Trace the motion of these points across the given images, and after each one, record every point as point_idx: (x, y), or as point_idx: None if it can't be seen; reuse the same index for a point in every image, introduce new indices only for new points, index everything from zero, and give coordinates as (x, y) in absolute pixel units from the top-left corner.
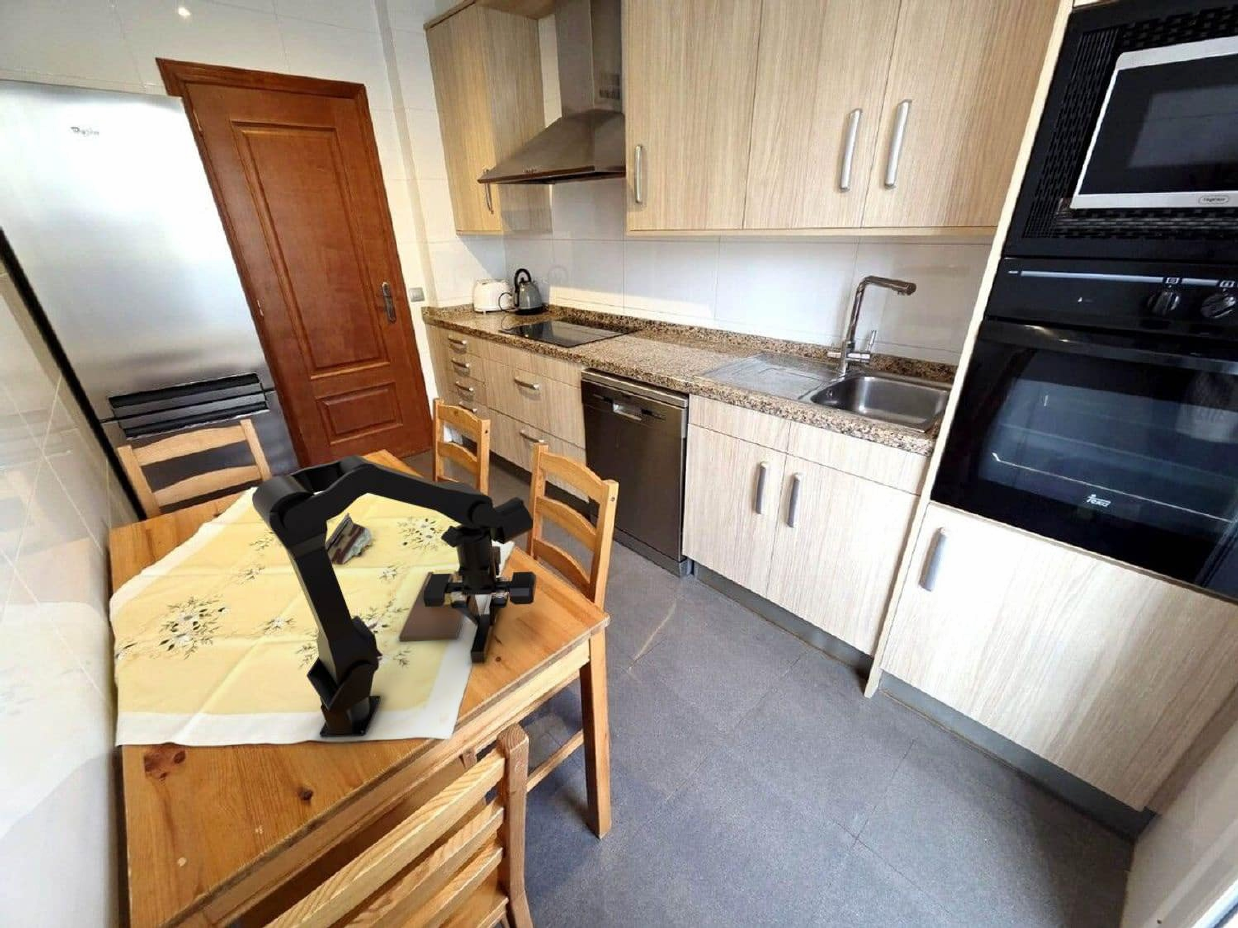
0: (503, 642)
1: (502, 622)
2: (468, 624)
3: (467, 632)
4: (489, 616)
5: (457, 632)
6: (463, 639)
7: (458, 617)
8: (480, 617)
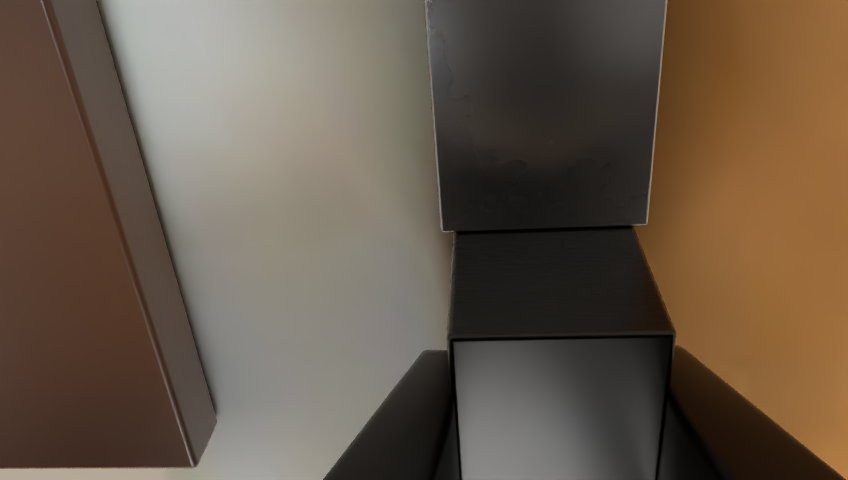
0: None
1: (747, 174)
2: (257, 212)
3: (300, 334)
4: (618, 385)
5: (190, 399)
6: (295, 419)
7: (63, 202)
8: (462, 408)
